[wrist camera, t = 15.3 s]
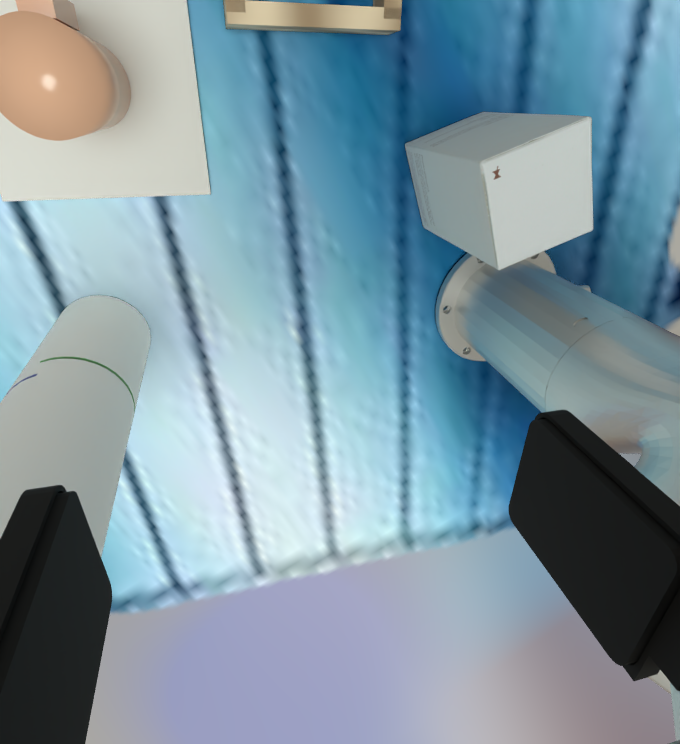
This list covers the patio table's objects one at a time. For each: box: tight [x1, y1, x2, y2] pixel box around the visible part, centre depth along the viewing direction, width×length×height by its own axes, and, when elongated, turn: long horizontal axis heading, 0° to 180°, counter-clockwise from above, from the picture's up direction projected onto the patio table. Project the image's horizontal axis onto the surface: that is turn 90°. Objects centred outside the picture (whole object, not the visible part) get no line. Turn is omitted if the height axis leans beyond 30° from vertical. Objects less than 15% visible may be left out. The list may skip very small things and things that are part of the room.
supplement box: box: [405, 112, 593, 270], centre depth 34 cm, size 7×7×13 cm
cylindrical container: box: [0, 295, 151, 557], centre depth 29 cm, size 7×7×25 cm
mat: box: [0, 0, 211, 201], centre depth 31 cm, size 14×14×1 cm
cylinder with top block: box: [0, 0, 131, 141], centre depth 26 cm, size 5×6×10 cm
